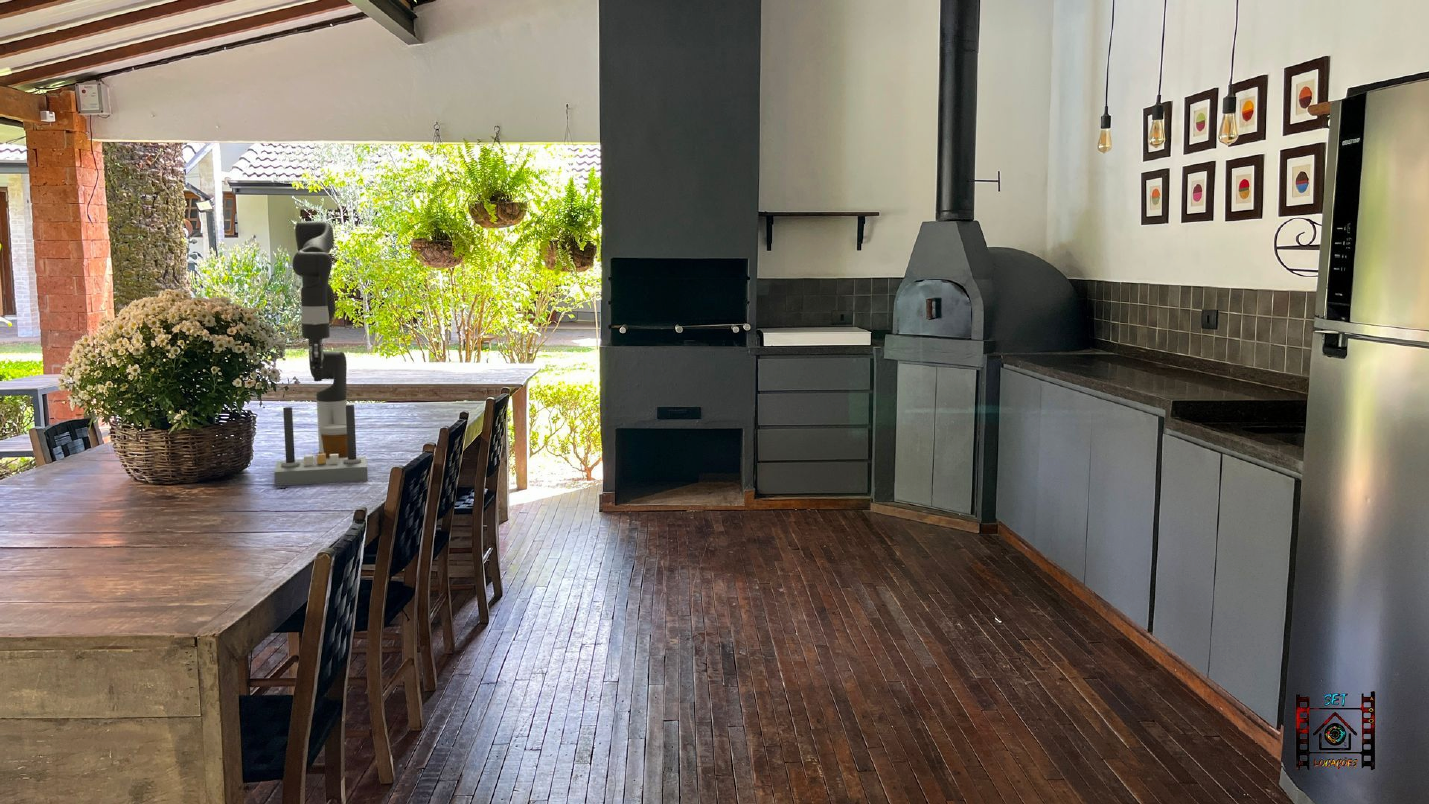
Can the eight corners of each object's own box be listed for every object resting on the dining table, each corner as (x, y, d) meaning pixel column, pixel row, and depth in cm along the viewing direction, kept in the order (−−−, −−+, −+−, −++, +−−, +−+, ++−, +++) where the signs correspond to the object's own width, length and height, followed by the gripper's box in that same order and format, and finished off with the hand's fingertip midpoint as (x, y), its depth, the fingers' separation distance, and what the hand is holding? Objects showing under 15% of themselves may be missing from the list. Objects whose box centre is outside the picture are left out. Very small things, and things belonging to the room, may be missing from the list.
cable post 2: (343, 461, 320) (340, 404, 317) (361, 460, 321) (358, 403, 319) (343, 464, 315) (340, 406, 313) (361, 463, 317) (359, 406, 314)
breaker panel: (277, 474, 320) (276, 452, 319) (366, 469, 328) (365, 447, 327) (274, 485, 305) (273, 463, 304) (367, 480, 313) (366, 458, 312)
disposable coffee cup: (346, 467, 330) (345, 428, 329) (315, 466, 331) (314, 428, 329) (357, 461, 340) (355, 423, 338) (327, 460, 340) (325, 423, 338)
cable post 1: (281, 464, 314) (278, 406, 312) (300, 463, 316) (297, 406, 313) (280, 467, 310) (277, 409, 307) (299, 466, 311) (296, 408, 309)
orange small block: (317, 462, 316) (316, 453, 316) (326, 462, 317) (325, 453, 316) (317, 463, 314) (316, 455, 314) (325, 463, 315) (325, 454, 315)
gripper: (302, 320, 317) (305, 378, 319) (300, 323, 304) (303, 384, 307) (329, 319, 319) (331, 377, 322) (328, 323, 307) (331, 383, 309)
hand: (318, 381), depth 314 cm, fingers closed
